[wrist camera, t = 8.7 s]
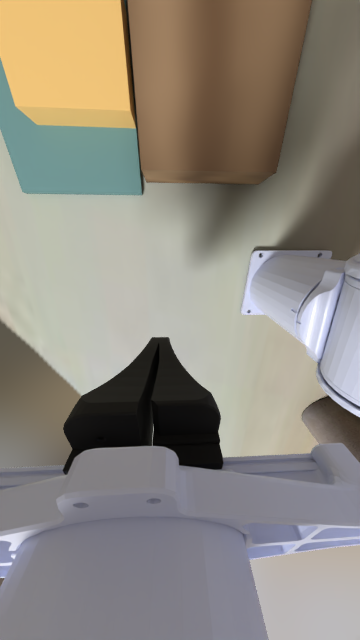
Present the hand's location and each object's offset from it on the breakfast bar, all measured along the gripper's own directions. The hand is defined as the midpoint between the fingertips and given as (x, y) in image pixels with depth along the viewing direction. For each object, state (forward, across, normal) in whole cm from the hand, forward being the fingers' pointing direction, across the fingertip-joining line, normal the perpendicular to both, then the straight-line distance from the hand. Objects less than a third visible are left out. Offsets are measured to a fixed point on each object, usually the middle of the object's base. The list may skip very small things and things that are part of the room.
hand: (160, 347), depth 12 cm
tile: (+9, +6, -19) cm, 22 cm away
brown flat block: (+9, -4, -19) cm, 21 cm away
